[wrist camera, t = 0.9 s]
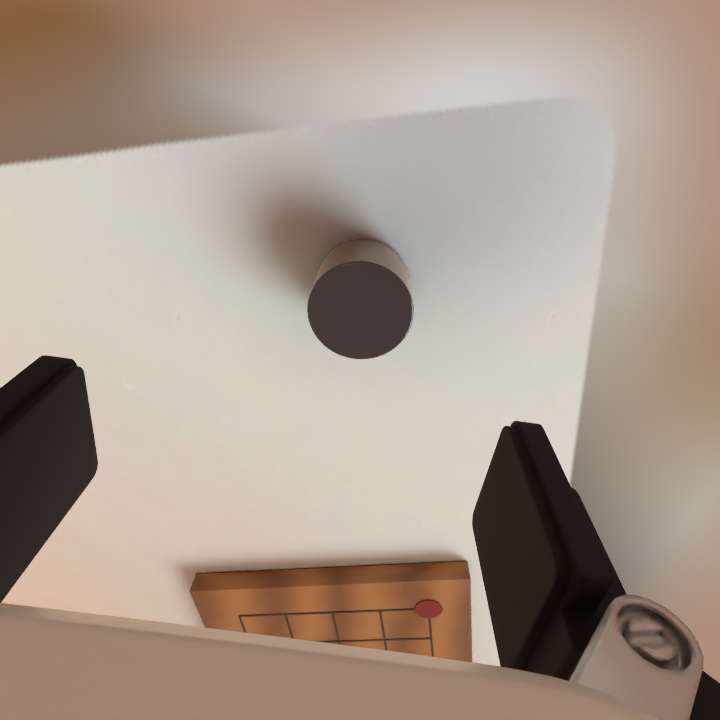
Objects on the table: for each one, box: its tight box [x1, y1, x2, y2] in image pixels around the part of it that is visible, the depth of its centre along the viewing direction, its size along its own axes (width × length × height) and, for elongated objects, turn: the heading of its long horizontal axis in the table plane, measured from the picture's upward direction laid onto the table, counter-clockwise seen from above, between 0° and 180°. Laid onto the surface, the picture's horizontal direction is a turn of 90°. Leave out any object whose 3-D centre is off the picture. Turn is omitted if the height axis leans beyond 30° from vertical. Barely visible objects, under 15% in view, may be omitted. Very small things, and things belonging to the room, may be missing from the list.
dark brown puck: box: [307, 239, 413, 359], centre depth 24 cm, size 5×5×4 cm
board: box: [190, 561, 472, 662], centre depth 40 cm, size 20×20×2 cm
